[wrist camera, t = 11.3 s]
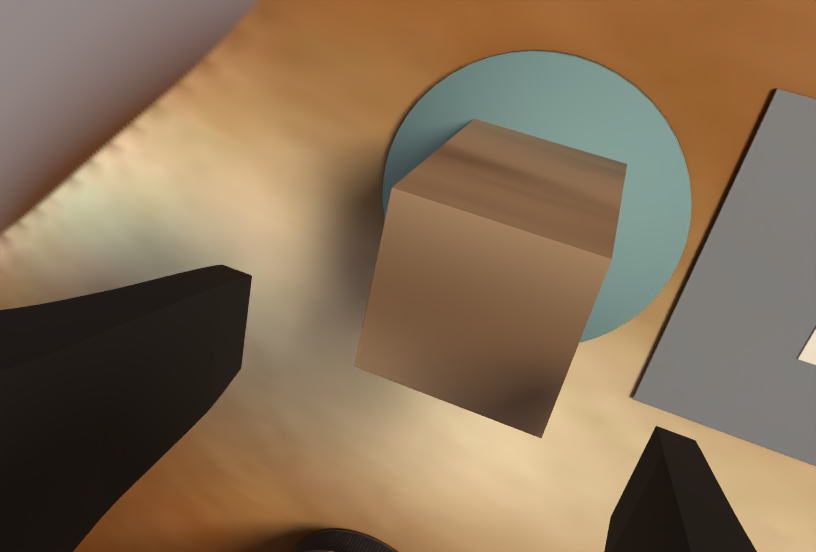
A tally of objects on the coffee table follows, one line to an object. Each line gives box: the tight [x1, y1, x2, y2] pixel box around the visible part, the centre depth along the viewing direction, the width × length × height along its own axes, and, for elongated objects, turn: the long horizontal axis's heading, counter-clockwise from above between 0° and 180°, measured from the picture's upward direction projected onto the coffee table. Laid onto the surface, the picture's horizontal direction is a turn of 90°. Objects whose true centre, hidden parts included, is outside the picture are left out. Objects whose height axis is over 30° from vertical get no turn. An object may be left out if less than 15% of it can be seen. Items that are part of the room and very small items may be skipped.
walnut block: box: [354, 119, 627, 438], centre depth 17 cm, size 4×4×7 cm
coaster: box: [383, 50, 692, 343], centre depth 20 cm, size 9×9×1 cm
